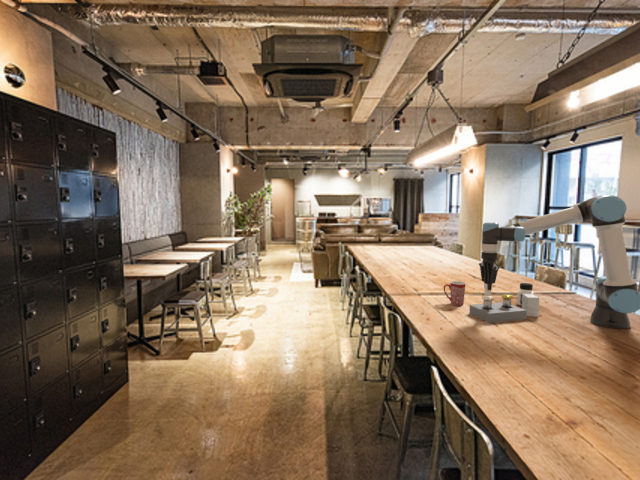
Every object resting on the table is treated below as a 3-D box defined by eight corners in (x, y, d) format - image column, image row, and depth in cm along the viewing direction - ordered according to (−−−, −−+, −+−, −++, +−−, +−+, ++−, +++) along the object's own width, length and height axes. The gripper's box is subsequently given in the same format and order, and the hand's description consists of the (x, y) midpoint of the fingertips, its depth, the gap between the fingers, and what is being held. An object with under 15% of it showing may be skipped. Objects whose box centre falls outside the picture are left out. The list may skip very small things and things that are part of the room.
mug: (465, 303, 208) (466, 281, 206) (464, 307, 200) (465, 284, 198) (444, 300, 213) (444, 280, 212) (442, 304, 205) (442, 283, 204)
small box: (538, 316, 180) (539, 297, 179) (527, 316, 181) (528, 297, 180) (532, 312, 188) (533, 294, 187) (521, 311, 189) (522, 293, 188)
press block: (526, 319, 176) (526, 310, 176) (489, 323, 172) (489, 313, 171) (503, 310, 192) (503, 302, 191) (469, 313, 187) (469, 304, 187)
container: (532, 306, 198) (533, 285, 197) (517, 304, 203) (518, 283, 202) (533, 303, 205) (534, 282, 203) (518, 301, 209) (519, 281, 208)
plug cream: (495, 310, 178) (495, 297, 177) (486, 311, 177) (486, 298, 176) (488, 308, 183) (488, 295, 182) (479, 308, 182) (480, 296, 181)
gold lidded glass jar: (514, 309, 180) (515, 296, 180) (506, 309, 179) (506, 297, 179) (507, 306, 185) (507, 294, 185) (499, 307, 184) (499, 294, 184)
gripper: (504, 253, 171) (502, 298, 174) (487, 250, 184) (485, 292, 186) (491, 253, 170) (489, 299, 172) (475, 250, 183) (473, 292, 185)
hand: (487, 295), depth 179 cm, fingers closed
